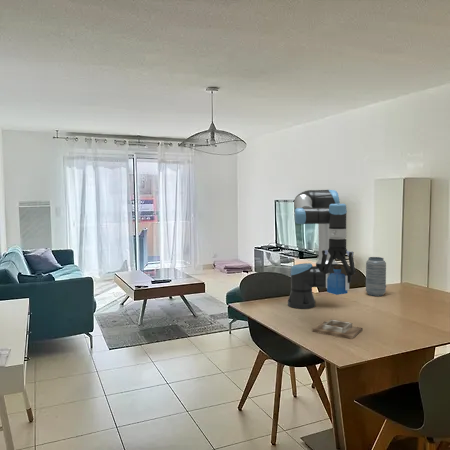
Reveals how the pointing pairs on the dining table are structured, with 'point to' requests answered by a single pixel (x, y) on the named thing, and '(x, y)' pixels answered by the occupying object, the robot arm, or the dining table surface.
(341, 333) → the brown board with frame
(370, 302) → the dining table surface
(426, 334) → the dining table surface
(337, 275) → the perfume bottle
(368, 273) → the vase
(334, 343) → the dining table surface
